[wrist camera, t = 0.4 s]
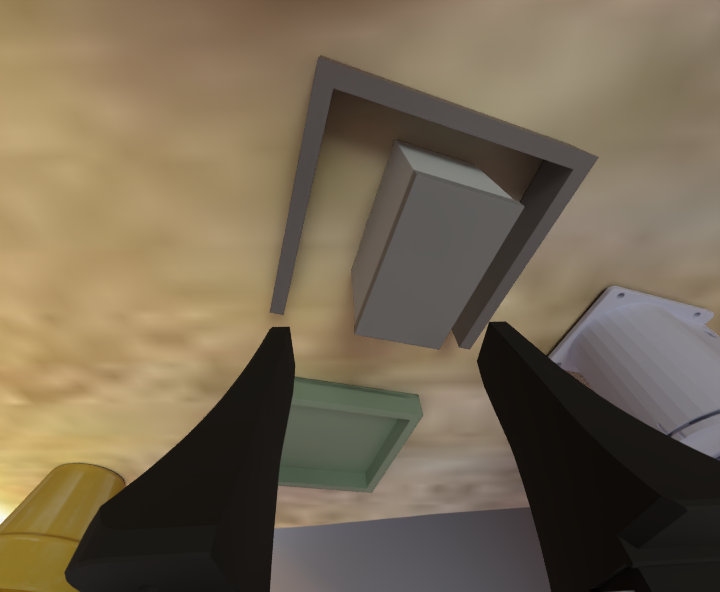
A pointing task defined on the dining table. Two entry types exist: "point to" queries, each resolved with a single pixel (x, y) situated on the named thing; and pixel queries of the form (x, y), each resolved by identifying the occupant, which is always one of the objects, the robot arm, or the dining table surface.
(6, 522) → the plant pot
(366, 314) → the grey upright block
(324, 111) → the frame
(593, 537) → the robot arm
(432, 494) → the dining table surface
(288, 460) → the tray
